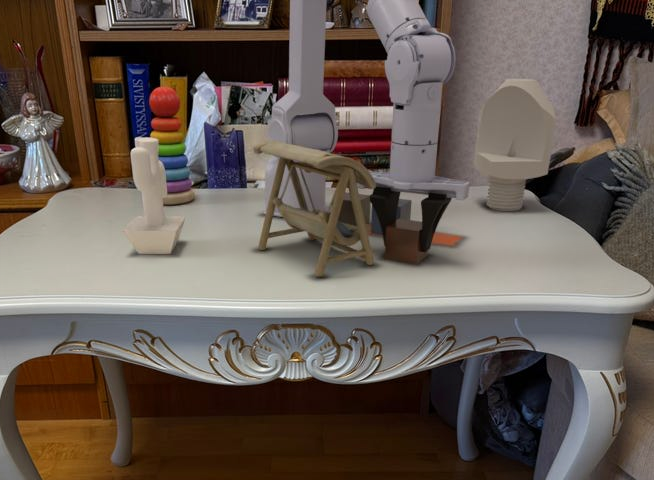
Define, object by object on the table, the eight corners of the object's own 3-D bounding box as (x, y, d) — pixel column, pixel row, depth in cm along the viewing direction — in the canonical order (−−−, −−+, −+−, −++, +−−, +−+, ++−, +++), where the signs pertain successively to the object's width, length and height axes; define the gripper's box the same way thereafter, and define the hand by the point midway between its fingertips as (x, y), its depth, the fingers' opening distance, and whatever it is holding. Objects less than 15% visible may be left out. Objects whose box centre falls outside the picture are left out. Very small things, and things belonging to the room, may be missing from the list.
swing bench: (376, 265, 87) (382, 148, 80) (316, 280, 82) (317, 157, 75) (312, 238, 98) (312, 133, 91) (256, 249, 93) (251, 139, 86)
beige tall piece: (469, 200, 117) (483, 77, 108) (521, 199, 117) (539, 77, 108) (485, 214, 109) (501, 82, 100) (541, 213, 109) (562, 82, 100)
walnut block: (384, 259, 89) (386, 226, 87) (396, 250, 92) (398, 218, 90) (416, 264, 87) (418, 231, 85) (427, 255, 90) (430, 222, 88)
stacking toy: (190, 206, 114) (181, 89, 106) (144, 206, 114) (131, 89, 106) (198, 195, 121) (189, 84, 113) (154, 195, 122) (142, 84, 113)
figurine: (189, 239, 97) (180, 132, 90) (177, 260, 89) (166, 143, 82) (140, 239, 97) (127, 132, 91) (123, 259, 89) (107, 143, 82)
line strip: (320, 226, 103) (320, 226, 103) (334, 219, 107) (334, 218, 107) (452, 246, 94) (452, 245, 94) (462, 237, 98) (462, 236, 98)
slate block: (370, 233, 99) (371, 203, 97) (382, 225, 103) (383, 196, 101) (398, 237, 97) (400, 206, 95) (409, 229, 101) (411, 200, 99)
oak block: (331, 227, 102) (331, 198, 100) (343, 220, 106) (344, 192, 104) (357, 231, 100) (358, 201, 98) (369, 224, 104) (371, 195, 102)
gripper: (347, 142, 83) (345, 247, 89) (461, 151, 76) (450, 264, 83) (370, 134, 88) (366, 233, 94) (478, 142, 82) (466, 248, 88)
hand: (407, 247), depth 89 cm, fingers closed on walnut block, 4 cm apart
